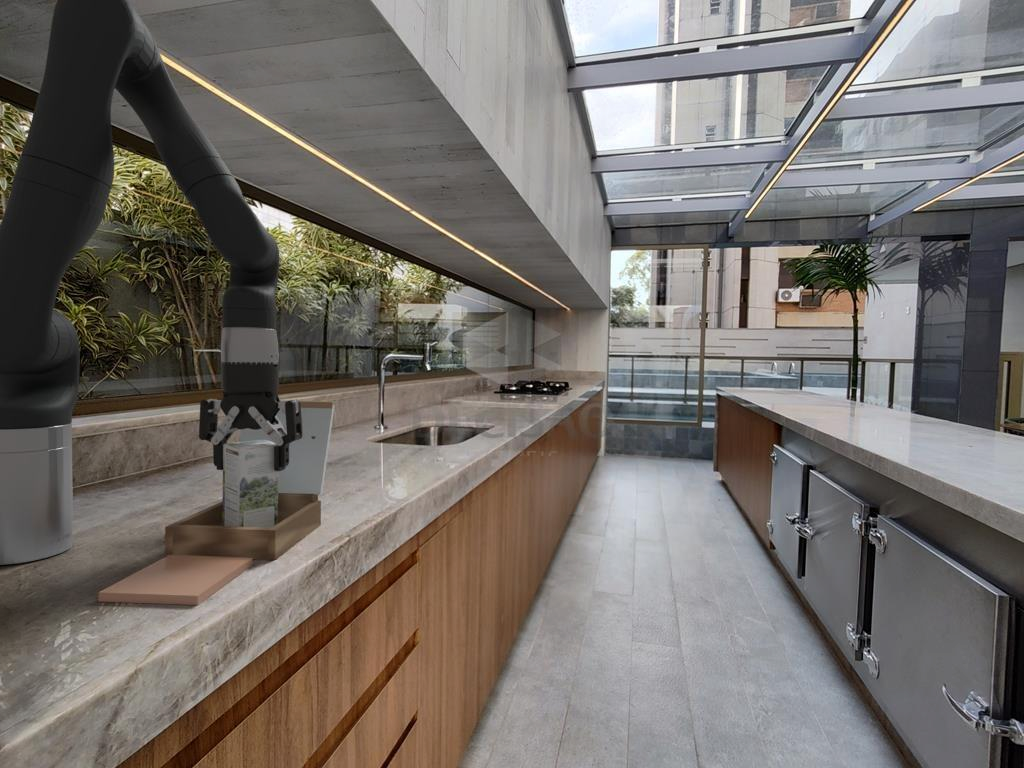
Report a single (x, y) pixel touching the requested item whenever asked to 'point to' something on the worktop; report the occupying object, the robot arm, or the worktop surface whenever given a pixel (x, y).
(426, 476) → the worktop surface
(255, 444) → the syrup box
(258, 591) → the worktop surface
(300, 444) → the lid
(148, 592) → the tile
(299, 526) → the wooden box
